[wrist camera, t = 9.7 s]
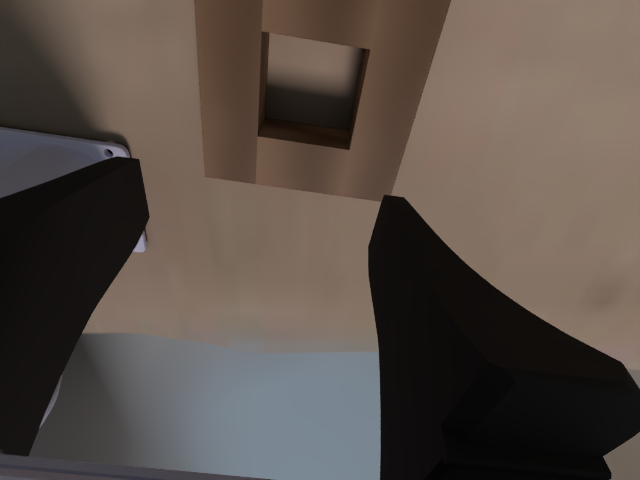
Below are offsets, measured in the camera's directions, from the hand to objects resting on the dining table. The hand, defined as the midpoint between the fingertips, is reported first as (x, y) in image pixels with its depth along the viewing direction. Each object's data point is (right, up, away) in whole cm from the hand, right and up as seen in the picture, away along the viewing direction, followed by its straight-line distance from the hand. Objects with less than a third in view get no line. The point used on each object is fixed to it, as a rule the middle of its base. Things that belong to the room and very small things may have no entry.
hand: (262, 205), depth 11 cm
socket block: (+1, +7, +8) cm, 10 cm away
